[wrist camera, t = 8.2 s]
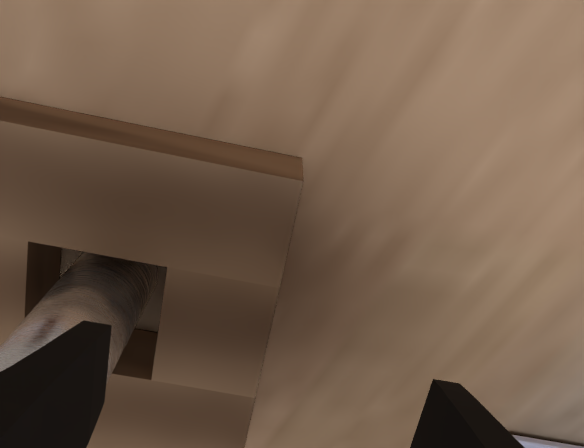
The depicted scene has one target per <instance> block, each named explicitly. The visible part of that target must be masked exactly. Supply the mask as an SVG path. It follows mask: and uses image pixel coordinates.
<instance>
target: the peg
mask: <svg viewBox="0 0 584 448" xmlns="http://www.w3.org/2000/svg"><path fill="white" fill-rule="evenodd" d="M157 280H158V268H157V265H153V264H148V263H142V262H137V261H131V260H126V259H121V258H115V257H110V256H105V255H99V254H94V253H88V252H83V253H82V254H81V255H80V256H79V258H78V259H77V260H76V261H75V262H74V263H73V264H72V265H71V267H70V268H69V269H68V270H67V271H66V272H65V273H64V274H63V276H62V277H61V278H60V279H59V280H58V281H57V282H56V283H55V285H54V286H53V287H52V288H51V289H50V290H49V291H48V293H47V294H46V295H45V296H44V297H43V298H42V299H41V300H40V302H39V303H38V304H37V305H36V306H35V307H34V308H33V309H32V311H31V312H30V313H29V314H28V315H27V316H26V317H25V319H24V320H23V321H22V322H21V323H20V324H19V325H18V326H17V328H16V329H15V330H14V331H13V332H12V333H11V334H10V335H9V337H8V338H7V339H6V340H5V341H4V342H3V343H2V345H1V346H0V372H1V371H3V370H5V369H6V368H8V367H10V366H12V365H13V364H15V363H17V362H18V361H20V360H22V359H23V358H25V357H27V356H28V355H30V354H31V353H33V352H35V351H36V350H38V349H39V348H41V347H43V346H44V345H46V344H47V343H49V342H50V341H52V340H53V339H55V338H57V337H58V336H60V335H61V334H63V333H64V332H66V331H67V330H69V329H71V328H72V327H74V326H75V325H77V324H79V323H80V322H82V321H83V320H85V321H90V322H96V323H102V324H108V325H112V328H111V339H110V350H109V360H108V371H107V382H108V380H109V378H110V376H111V374H112V372H113V370H114V368H115V366H116V364H117V362H118V360H119V358H120V356H121V354H122V352H123V350H124V348H125V346H126V344H127V342H128V340H129V338H130V336H131V334H132V332H133V330H134V328H135V326H136V324H137V322H138V320H139V318H140V316H141V314H142V313H143V311H144V309H145V307H146V305H147V303H148V301H149V299H150V297H151V295H152V293H153V291H154V289H155V287H156V284H157ZM107 382H106V384H107Z"/></svg>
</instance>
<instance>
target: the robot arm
mask: <svg viewBox="0 0 584 448" xmlns="http://www.w3.org/2000/svg"><path fill="white" fill-rule="evenodd" d="M111 328H112V325H108V324H102V323H96V322H90V321H85V320H83V321H82V322H80V323H79V324H77V325H75V326H74V327H72V328H71V329H69V330H67V331H66V332H64V333H63V334H61V335H60V336H58V337H57V338H55V339H53V340H52V341H50V342H49V343H47V344H46V345H44V346H43V347H41V348H39V349H38V350H36V351H35V352H33V353H31V354H30V355H28V356H27V357H25V358H23V359H22V360H20V361H18V362H17V363H15V364H13V365H12V366H10V367H8V368H6V369H5V370H3V371H1V372H0V448H86V447H87V445H88V443H89V441H90V438H91V436H92V433H93V431H94V428H95V426H96V423H97V421H98V418H99V416H100V413H101V410H102V408H103V405H104V402H105V392H106V382H107V371H108V360H109V350H110V339H111ZM410 448H584V447H582V446H576V445H570V444H564V443H558V442H553V441H547V440H541V439H535V438H529V437H524V436H518V435H511V434H510V433H509V432H508V431H507V430H506V429H505V428H504V427H503V426H502V425H501V424H500V423H499V422H498V421H497V420H496V419H495V418H494V417H493V416H492V415H491V414H490V413H489V412H488V410H487V409H486V408H485V407H484V406H483V405H482V404H481V403H480V402H479V401H478V400H477V399H476V398H475V397H474V396H472V395H471V394H470V393H469V392H468V391H467V390H466V389H465V388H464V387H463V386H462V385H460V384H459V383H453V382H447V381H441V380H435V379H433V381H432V384H431V387H430V390H429V393H428V396H427V399H426V402H425V405H424V408H423V411H422V414H421V417H420V420H419V423H418V426H417V429H416V432H415V435H414V438H413V441H412V444H411V447H410Z"/></svg>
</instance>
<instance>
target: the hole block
mask: <svg viewBox="0 0 584 448" xmlns="http://www.w3.org/2000/svg"><path fill="white" fill-rule="evenodd" d="M302 186H303V166H302V158H299V157H294V156H289V155H284V154H279V153H274V152H269V151H264V150H259V149H255V148H250V147H245V146H240V145H235V144H230V143H225V142H220V141H215V140H210V139H205V138H200V137H195V136H190V135H186V134H181V133H176V132H171V131H166V130H161V129H156V128H151V127H146V126H141V125H136V124H131V123H126V122H121V121H117V120H112V119H107V118H102V117H97V116H92V115H87V114H82V113H77V112H72V111H67V110H62V109H57V108H52V107H47V106H43V105H38V104H33V103H28V102H23V101H18V100H13V99H8V98H3V97H0V346H1V345H2V343H3V342H4V341H5V340H6V339H7V338H8V337H9V335H10V334H11V333H12V332H13V331H14V330H15V329H16V328H17V326H18V325H19V324H20V323H21V322H22V321H23V320H24V319H25V317H26V316H27V315H28V314H29V313H30V312H31V311H32V309H33V308H34V307H35V306H36V305H37V304H38V303H39V302H40V300H41V299H42V298H43V297H44V296H45V295H46V294H47V293H48V291H49V290H50V289H51V288H52V287H53V286H54V285H55V283H56V282H57V281H58V280H59V274H60V259H61V248H67V249H72V250H78V251H83V252H88V253H94V254H99V255H105V256H110V257H115V258H121V259H126V260H131V261H137V262H142V263H148V264H153V265H158V266H164V267H167V273H166V280H165V287H164V294H163V301H162V308H161V315H160V322H159V329H158V333H155V332H149V331H144V330H138V329H134V330H133V332H132V334H131V336H130V338H129V340H128V342H127V344H126V346H125V348H124V350H123V352H122V354H121V356H120V358H119V360H118V362H117V364H116V366H115V368H114V370H113V372H112V374H111V376H110V378H109V380H108V382H107V384H106V392H105V402H104V405H103V408H102V410H101V413H100V416H99V418H98V421H97V423H96V426H95V428H94V431H93V433H92V436H91V438H90V441H89V443H88V445H87V447H86V448H244V447H245V442H246V438H247V433H248V429H249V424H250V420H251V415H252V411H253V406H254V402H255V397H256V393H257V388H258V384H259V379H260V375H261V370H262V366H263V361H264V357H265V352H266V348H267V343H268V339H269V334H270V330H271V325H272V321H273V316H274V312H275V307H276V303H277V298H278V294H279V289H280V285H281V280H282V276H283V271H284V267H285V262H286V258H287V253H288V249H289V244H290V240H291V235H292V231H293V226H294V222H295V217H296V213H297V208H298V204H299V199H300V195H301V190H302Z"/></svg>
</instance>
